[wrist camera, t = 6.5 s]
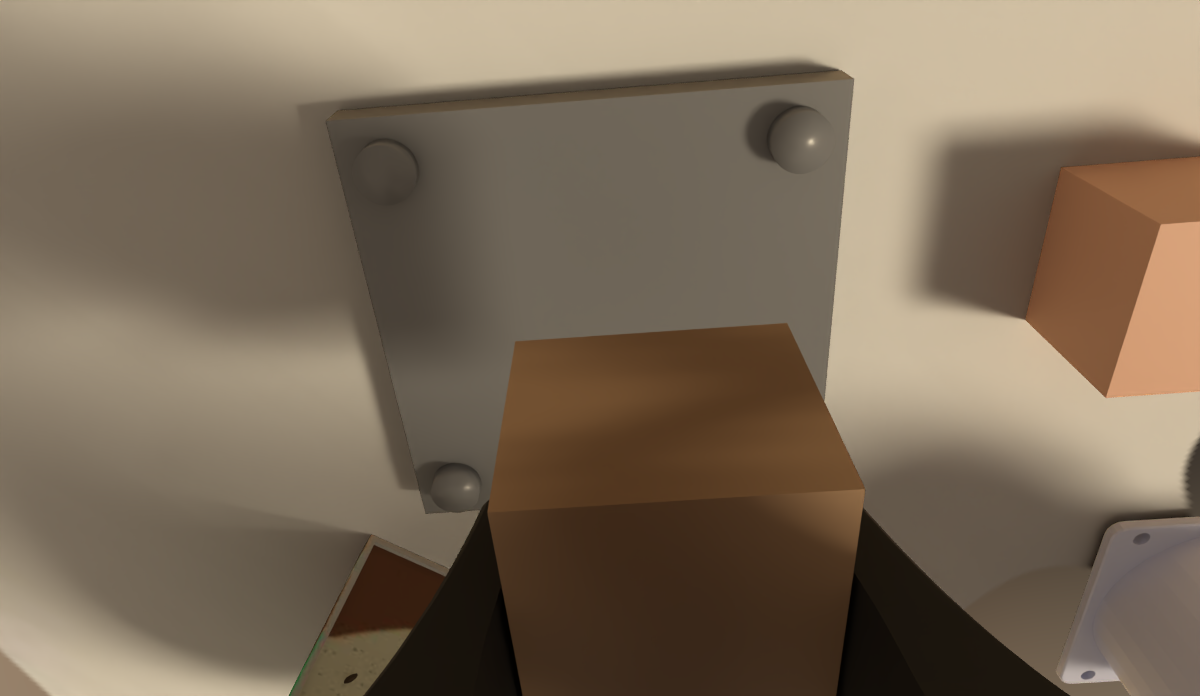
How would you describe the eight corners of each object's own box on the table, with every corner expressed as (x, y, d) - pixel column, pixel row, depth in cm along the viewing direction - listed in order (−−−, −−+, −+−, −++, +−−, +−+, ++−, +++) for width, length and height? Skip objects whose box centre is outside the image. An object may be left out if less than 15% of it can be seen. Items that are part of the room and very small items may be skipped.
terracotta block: (1235, 152, 19) (1377, 208, 16) (1181, 306, 21) (1294, 384, 18) (1059, 166, 19) (1161, 224, 16) (1023, 318, 22) (1106, 397, 18)
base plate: (840, 70, 18) (862, 84, 17) (808, 466, 24) (821, 501, 23) (337, 110, 18) (318, 127, 17) (431, 491, 24) (422, 527, 23)
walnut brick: (787, 323, 12) (865, 488, 9) (770, 583, 15) (823, 783, 12) (514, 341, 12) (488, 512, 9) (552, 596, 15) (542, 798, 12)
